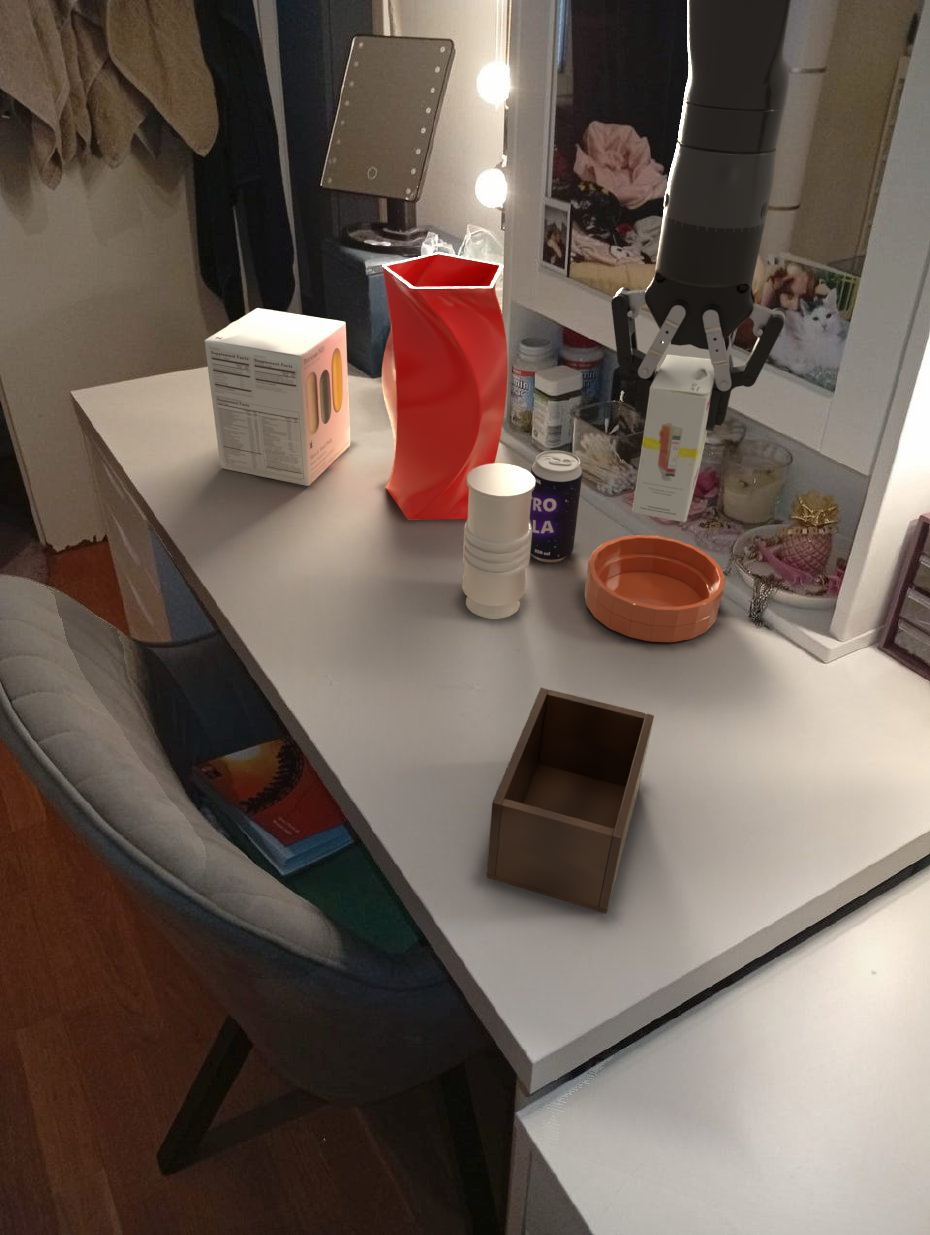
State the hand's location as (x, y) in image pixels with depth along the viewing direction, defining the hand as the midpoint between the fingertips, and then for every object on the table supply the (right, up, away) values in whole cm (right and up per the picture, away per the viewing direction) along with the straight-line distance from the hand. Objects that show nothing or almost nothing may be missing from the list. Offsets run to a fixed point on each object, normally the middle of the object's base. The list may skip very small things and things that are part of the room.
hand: (677, 421), depth 80 cm
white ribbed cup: (-15, -15, +21) cm, 30 cm away
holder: (-10, -34, -5) cm, 36 cm away
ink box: (0, -6, +5) cm, 8 cm away
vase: (-22, -1, +39) cm, 45 cm away
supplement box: (-42, +5, +46) cm, 63 cm away
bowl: (+2, -15, +21) cm, 26 cm away
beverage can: (-9, -9, +29) cm, 32 cm away
